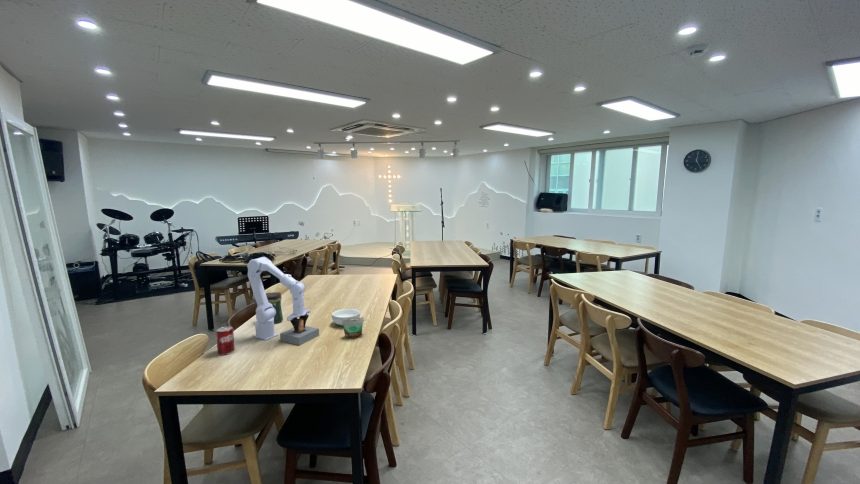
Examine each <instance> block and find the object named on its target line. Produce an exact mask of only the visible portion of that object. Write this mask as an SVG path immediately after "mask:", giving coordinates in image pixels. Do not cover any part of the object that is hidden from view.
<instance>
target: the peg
mask: <svg viewBox="0 0 860 484" xmlns="http://www.w3.org/2000/svg"><path fill="white" fill-rule="evenodd" d="M298 319H300V321H299V330H298V331H296V333H299V334H300V333H302V332H304V323H303V318H299V317H298Z"/></svg>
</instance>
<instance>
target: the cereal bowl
mask: <svg viewBox="0 0 860 484" xmlns="http://www.w3.org/2000/svg"><path fill="white" fill-rule="evenodd" d="M353 318H361V312H360V310H359V309H355V308H343V309H338V310H335V311H333V312H331V319H332V321H333V323H335V324H337V325H340V326H341V327H344V326H343V323H342V320H349V319H353Z"/></svg>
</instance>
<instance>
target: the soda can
mask: <svg viewBox="0 0 860 484" xmlns="http://www.w3.org/2000/svg"><path fill="white" fill-rule="evenodd" d="M234 334H235V333H234V328H233V326H222V327H219V328H217V329H216V331H215V335H216V337H215V339H216V340H215V341H216V350H217V351H216V353H217V354H218V355H220V356H226V355H231V354H232V353H233V352H234V351H235V349H236V348H235V335H234Z"/></svg>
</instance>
